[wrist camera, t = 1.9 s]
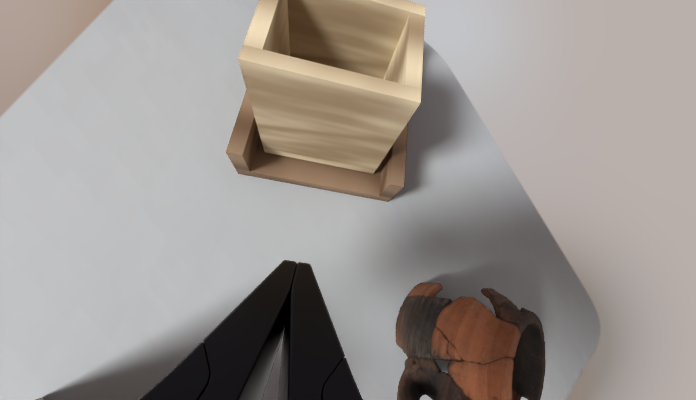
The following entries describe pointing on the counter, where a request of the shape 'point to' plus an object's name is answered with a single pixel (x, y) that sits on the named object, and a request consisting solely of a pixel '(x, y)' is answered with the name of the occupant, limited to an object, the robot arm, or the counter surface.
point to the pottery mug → (469, 348)
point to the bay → (313, 164)
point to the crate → (334, 77)
